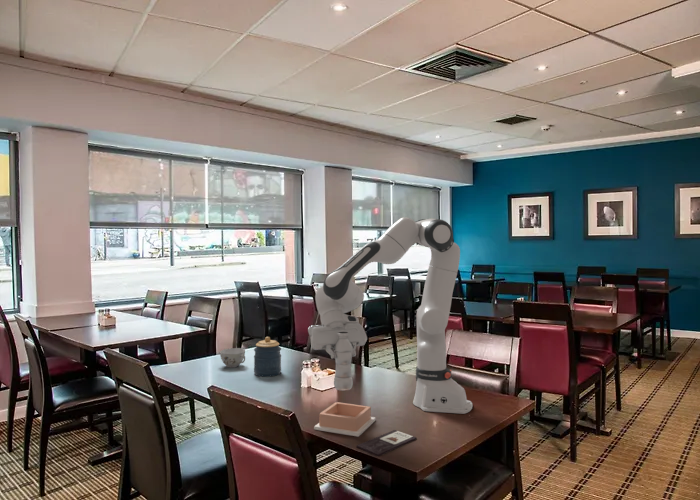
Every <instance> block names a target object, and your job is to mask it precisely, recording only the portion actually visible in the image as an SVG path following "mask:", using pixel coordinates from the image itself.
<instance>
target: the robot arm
mask: <svg viewBox="0 0 700 500" xmlns="http://www.w3.org/2000/svg"><path fill="white" fill-rule="evenodd" d="M415 244H417V245H419V246H422V247H425V248H429V249H430V253H431V257H430V260H429V265H428V268H427V272H426V273H427V274H426V278H425V281H424V286H423V287H424V288H423V292H422V297H421V304H420V305H419V306H418V308H417V310H416V347H417V349H416V351H417V352H416V354H417V355H416V359H417V360H416V367H415V381H416V387H415V392H414V393H415V394H414V398H413V401H412V404H413V405H414V406H415V407H417V408H420V409H421V410H422V411H424V412H434V413H445V414H446V413H448V414H460V415H461V414H464V415H465V414H467V413H469V412H471V411H472V410H473V402H472V401H471V400H468V399H467V394H466V390H465V388H464V387H463V386H462V385H461V384H459V383H457V381H455V380H454V379H453V378H452V369H450V368H448V367H447V345H446V342H447V341H446V328H447V326H448V323H449V319H450V313H451V312H450V311H451V307H452V299H453V292H454V288H455V285H456V279H457V275H458V272H459V266H460V258H461V249H460V246H459V245H458V244H457V243H456V242H455V239H454V232H453V228H452V227H451V225H450V224H449V222H447V221H446V220H444V219H439V218H431V217H430V218H422V219H419V220H416V221H415V220H414V219H413V218H410V217H406V216H403V217H400V218H399V219H398V220H396V221H395V222H394V223H393V224H392V225H390V226H389V227H388V228H387V229H386V230H385V231H384V232H383V233H382V234H381V235H380V236H379V238H377V239H375V240H374V241H370V242H367V243H366V244H365V245H362V247H361V248H360V249H358V250H357V251H356V252H355V253H354V254H353V255H352V256H351V257H349V258H348V259H347V260H346V261H344V263H343V264H341V265H340V266H339V267H337V268H336V269H335V270H333V271H331V272H330V273H328V274H327V275H326V276H325V278H324V280H323V284H322V285H321V286H320V287H319V288H318V289H317V290H316V293H315V296H314V297H315V299H314V300H315V305H316V309H317V312H318V314H319V317H320V324H317V325H315V324H314V325H313V324H312V325H310V326H309V327H308V328H307V332H308V336H309V337H310V345H311V348H312V349H313V350H315V351H317V350H318V351H319V350H325V351H326V353H327V354H329V356H330V358H331V359H335V358H336V353H335V352H334V350H332V349H334V346H335V344H336V342H337V341H338V339H339V338H338V332H348V336H349V338H348V340H349V341H350V343H351V344H352V347H353V351H352V357H356V355H357V351H356V349H357V347H362V346H365V344H366V342H367V340H368V336H367V333H366V331H365V328H364V327H363V325H362V324H360V320H359V317H357V316H353V315H349V314H347V313H350V312H352V311H354V310H357V309H358V308H360V307H361V305H362V304H363V301H364V298H365V295H364V291H363V289H361V288H360V287H359V286H358V284H356V283H355V282H354V281H353V279H354V277H355V276H356V275H358V274H359V273H360V272H361V271H362V270H363V269H364V268H365V267H366V266H367V265H370V264H371V263H380V264H383V265H393V264H395V263H397V262H399V260H401V259H402V258H403V257H404V256H405V254H406V253H407V252H408V251H409V250H410V249H411V247H413V246H414V245H415Z"/></svg>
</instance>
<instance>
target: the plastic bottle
mask: <svg viewBox="0 0 700 500" xmlns="http://www.w3.org/2000/svg"><path fill="white" fill-rule="evenodd" d="M338 338H339V339H338V341H337V342H336V344H335V346H334V348H333V352H335V353H336V358H334V361H335V371H334V373H335V374H334V379H333V385H334V388H335V390H336V391H341V392H346V391H350V390H351V389H352V388H353V384H354V383H353V381H354V380H353V376H352V375H353V374H352V351H353V347H352V344H351V343H350V341H349V340H348V338H349V336H348V332H338Z"/></svg>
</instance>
